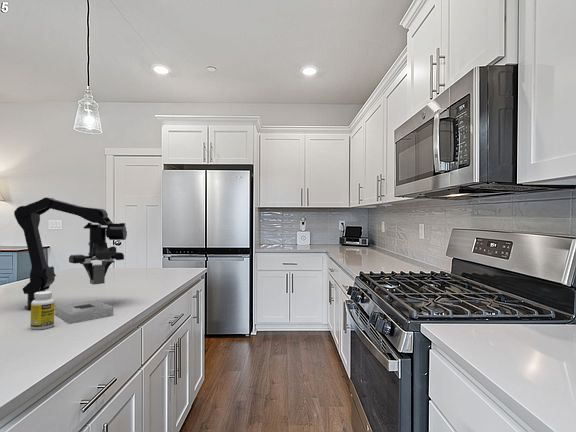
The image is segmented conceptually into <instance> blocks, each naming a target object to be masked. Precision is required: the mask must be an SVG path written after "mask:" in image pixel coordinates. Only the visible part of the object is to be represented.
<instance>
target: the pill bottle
mask: <svg viewBox="0 0 576 432" xmlns="http://www.w3.org/2000/svg"><path fill="white" fill-rule="evenodd" d="M52 297H53V292H52V291H50V290H46V291H42V292H36V293H34V298H35V300H33V301H32V303H31V310H30V329H31V330H38V331H39V330H45V329H51V328H52V327H53V326H55V306H56V305H55V299H54V298H52Z"/></svg>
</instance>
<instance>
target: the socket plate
mask: <svg viewBox="0 0 576 432" xmlns="http://www.w3.org/2000/svg"><path fill="white" fill-rule="evenodd" d="M54 316H56V317H58V318H60V319H61V320H62V321H65V323H67V324H71V325H72V324H76V323H81V322H86V321H92V320H96V319H102V318H107V317H112V316H113V317H114V306H112V305H109V304H107V303H105V302H103V301H100V300H98V299H92V300H87V301H79V302H74V303H68V304H60V305H54Z"/></svg>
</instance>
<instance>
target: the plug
mask: <svg viewBox="0 0 576 432" xmlns="http://www.w3.org/2000/svg"><path fill="white" fill-rule="evenodd" d="M92 274H93V278H92V280H90V279H89V284H91V285H101V284H102V285H103V284H105V281H106V280H105V277H106V275H105V266H104V265H102V264H98V263H97V264H93V265H92Z"/></svg>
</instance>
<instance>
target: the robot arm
mask: <svg viewBox="0 0 576 432" xmlns="http://www.w3.org/2000/svg"><path fill="white" fill-rule="evenodd" d="M49 210H54V211H55V210H56V211H58V212H63V213H67V214H71V215H73V216H79V217H80V218H82V219H84V220H85V221H89V222H87V224H85V225H84V226H83V229H84V230H85V229H89V242H88V246H89V252H88V255H84V254H71V255H69V256H68V262H69V263H71V264H80V265H82V266H83V267H84V269H85V271H86V273H87V276H88V278H89V281H90V280H92V278H93V274H92V265H94V264H93V263H94V262H92V261H101V265H104V266H105V276H106V274H107V272H108V270H109V267H110V266H111V264H112V263H115V261H122V260H125V254H124V253H123V252H120V251H117V247H116V246H110V247H108V242H107V240H106V239H108V240H109V241H126V239H127V236H128V231H127V227H126V223H125V222H119V223H114V222H112V220H111V219H110V217H109V216H108V215H109V214H108V212H107V211H106V210H105V209H104V208H97V207H85V206H81V205H78V204H77V205H76V204H74V203H69V202H66V201H62V200H58V199H55V198H54V197H43V198H41V199H40V200H37V201H35V202H32V203H31V202H30V203H29V204H26V205H21V206H18V207H17V208H15V210H14V212H13V213H14V218H15V220H16V222H17V224H18V225H19V227H20V228H21V229H22V231H23V234H24V238H25V244H26V247H27V251H28V255H29V260H30V265H31V268H30V273H29V282H28V283H27V284H26V285H25V286H24V287H23V288H22V292H23V294H24V295H27V302H26V303H27V305H25V306H24V308H25V309H26V310H28V311H31V303H32V301H33V300H35V298H34V293H36V292H42V291H48V290H49V289H50V286H51V285H52V284H53V283H54V282H55V280H56V279H55V278H56V277H57V274H55V267H54V266H53V265H52V266H49V265H48V263H47V261H46V260H47V259H46V257H45V253H44V248H43V243H42V239H41V234H40V229H39V225H40V222H41V215H43V214H45V213H47V212H48V211H49ZM114 259H115V260H114Z"/></svg>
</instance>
